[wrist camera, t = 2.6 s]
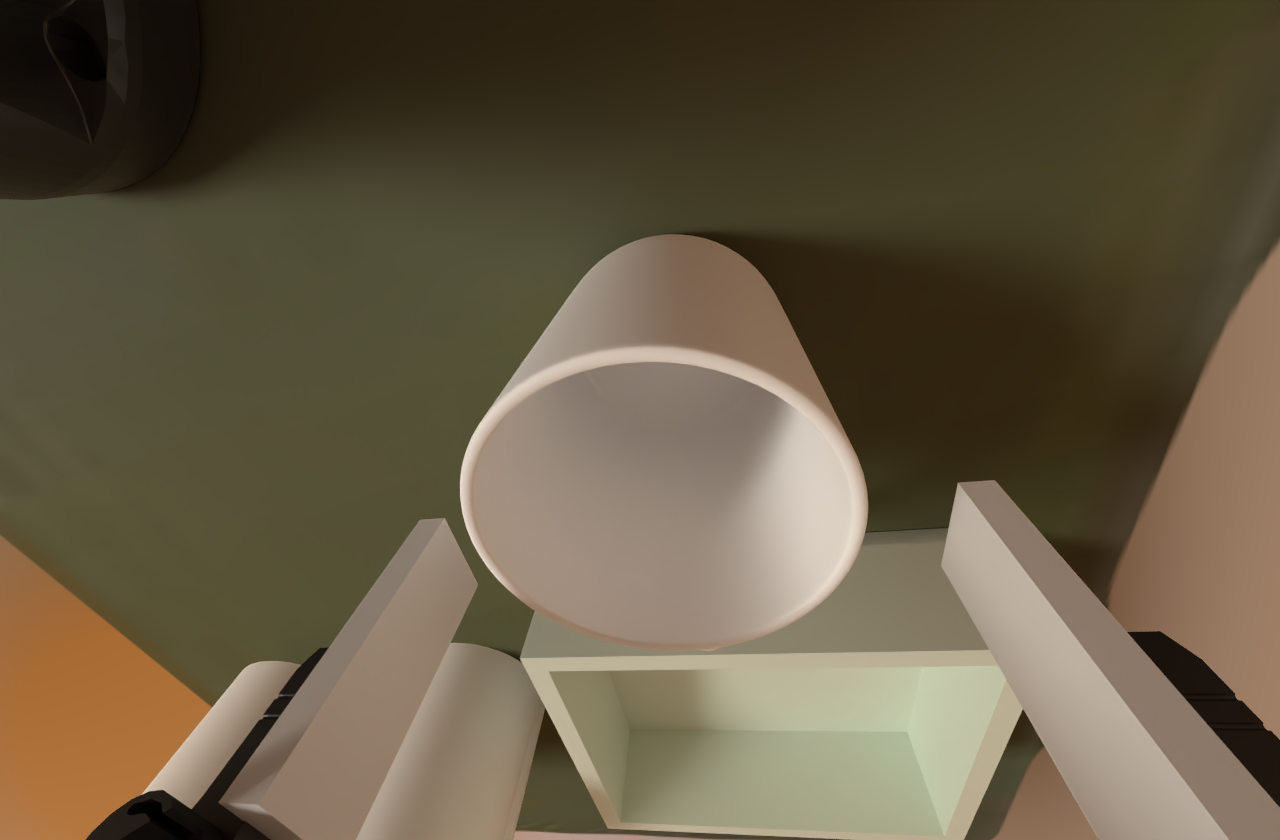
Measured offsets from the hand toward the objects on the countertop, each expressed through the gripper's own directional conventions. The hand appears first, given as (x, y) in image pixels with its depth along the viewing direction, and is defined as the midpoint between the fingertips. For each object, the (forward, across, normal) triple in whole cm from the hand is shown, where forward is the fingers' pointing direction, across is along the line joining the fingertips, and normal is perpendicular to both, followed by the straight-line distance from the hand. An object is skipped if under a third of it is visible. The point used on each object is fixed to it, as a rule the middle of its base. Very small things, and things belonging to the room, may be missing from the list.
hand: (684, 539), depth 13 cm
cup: (+8, 0, +1) cm, 8 cm away
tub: (+8, +2, -17) cm, 19 cm away
